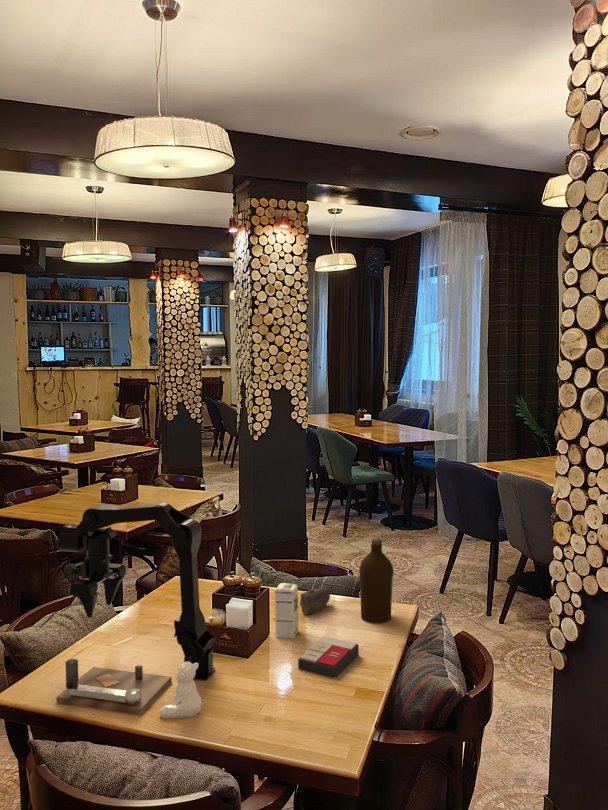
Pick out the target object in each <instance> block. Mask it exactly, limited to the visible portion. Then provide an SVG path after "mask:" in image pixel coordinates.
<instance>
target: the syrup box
mask: <svg viewBox="0 0 608 810" xmlns="http://www.w3.org/2000/svg"><path fill="white" fill-rule="evenodd" d="M298 590H299V589H298V584H296V583H289V582H287V583H283V582H281V583H278V585H277V587H276V588H275V589H274V613H275V614H274V615H275V622H274V623H275V637H277V638H282V639H283V638H284V639H294V638H295V637H296V636H297V634H298V632H299V602H298V601H299V596H298Z"/></svg>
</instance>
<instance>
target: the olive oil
mask: <svg viewBox="0 0 608 810" xmlns="http://www.w3.org/2000/svg"><path fill="white" fill-rule="evenodd" d="M370 549H371V550H370V552H369V553H368V554H367V555H366V556H365V557H364V558H363V559H362V561H361V562H360V566H359V569H358V571H359V588H360V589H359V591H360V592H359V593H360V596H359V597H360V618H361V619H362V620H363V621H365V622H367V623H370V624H384V623H387V622H389V621H391V619H392V603H393V601H392V600H393V586H394V567H393V564H392V562H391V560H390V559H389V558H388V557H387V555H385V553H383V544H382V539H380V538H372V539H371V543H370Z"/></svg>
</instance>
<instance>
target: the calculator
mask: <svg viewBox="0 0 608 810" xmlns="http://www.w3.org/2000/svg"><path fill="white" fill-rule="evenodd" d="M359 656H360V655H359V644H358V643H356V642H352V641H349V640H348V641H347V640H343V639H340V638H339V639H338V638H335V637H329V636H326V635H325V636H322V637H321V638H320V639H319V640H318V641H317V642H315V643H314V644H313V645H312V646H311V647H310V648H308V650H307V651H306V652H304V653H303V654H302V655H301V656H300V657H299V658H298V659H297V664H298V667H297V668H298V670H301V671H304V672H309V673H313V674H317V675H320V676H321V675H322V676H325V677H328V678H333V679H335V678H337V677H338V676H340V674H341V673H343V671H344V670H346V669H347V667H348V666H350V664H351V663H352V662H354V661H355V660H356V659H358V658H359Z"/></svg>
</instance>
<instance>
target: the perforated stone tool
mask: <svg viewBox="0 0 608 810" xmlns="http://www.w3.org/2000/svg"><path fill="white" fill-rule="evenodd" d="M330 593H331V592H330V591H329V589H327V588H324V587H323V588H321V587H319V588H314V589H310V590H308V591H307V590H306V591H305V592H303V593H301V594H300V601H299V605H300V607H301V612H302V613H303V614H306V615H311V614H314V613H315V614H316V613H317V612H318V611H320V610H322V609H323V608H324V607H326V606H327V604H328V603H329V602H330V597H331V594H330Z"/></svg>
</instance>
